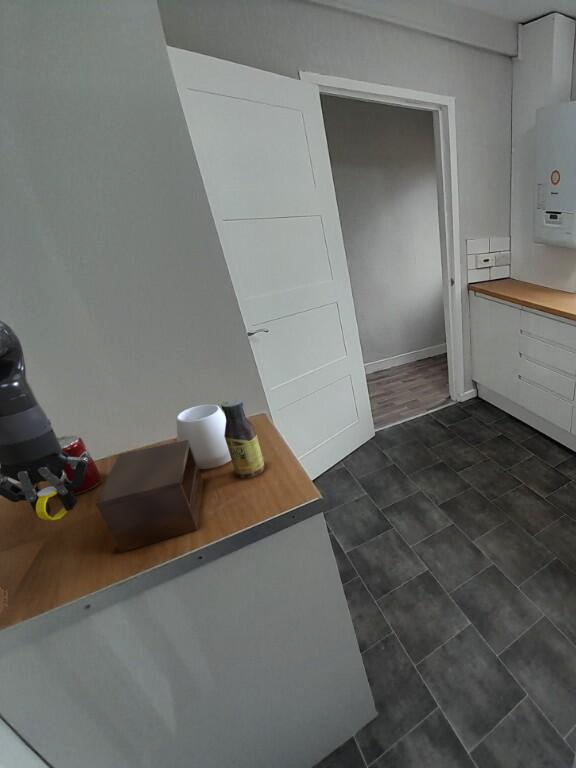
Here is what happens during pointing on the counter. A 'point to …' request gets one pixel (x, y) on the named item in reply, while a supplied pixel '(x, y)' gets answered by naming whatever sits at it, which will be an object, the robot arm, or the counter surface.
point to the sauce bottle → (242, 440)
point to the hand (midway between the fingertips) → (59, 510)
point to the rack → (152, 495)
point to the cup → (204, 435)
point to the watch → (41, 504)
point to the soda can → (78, 449)
